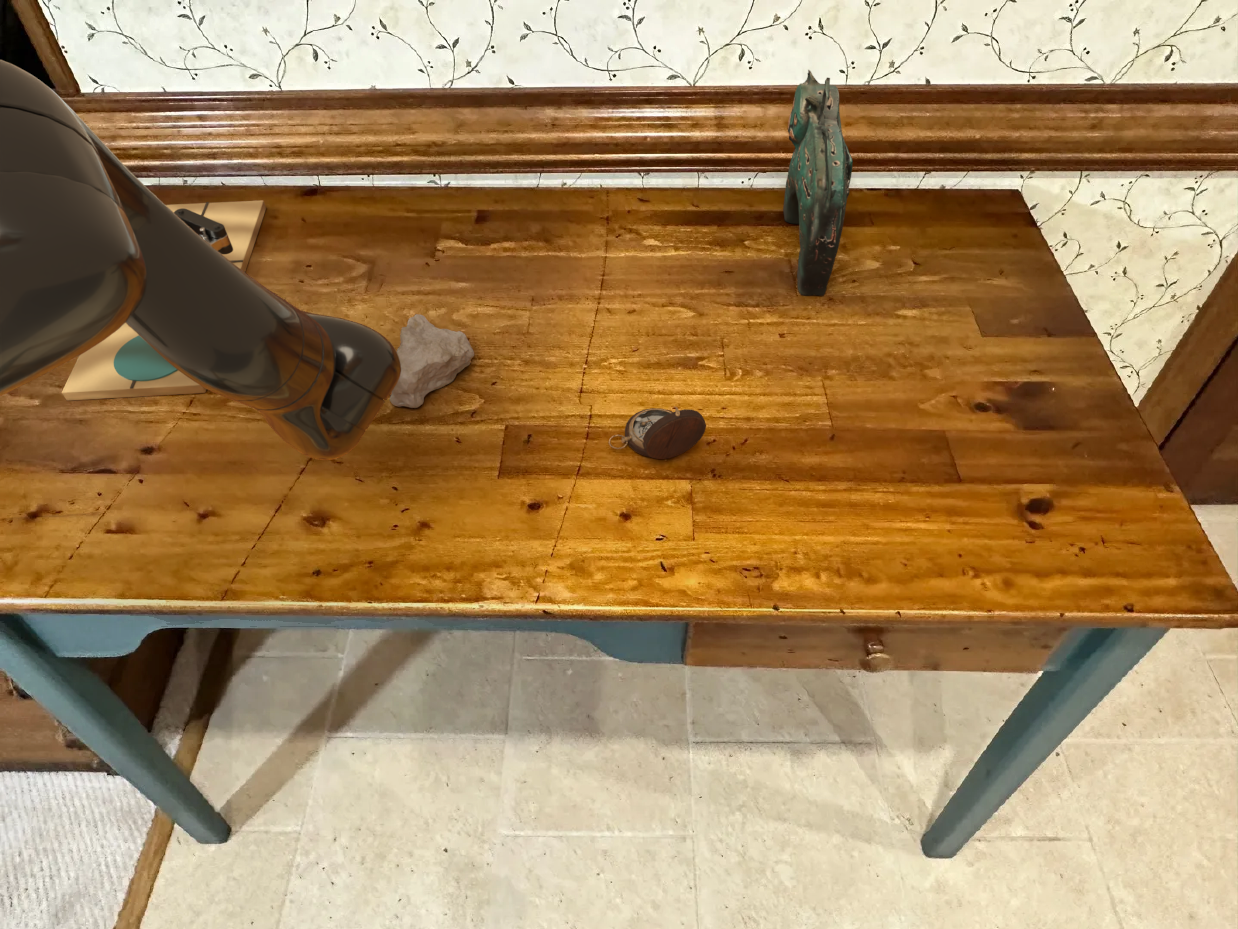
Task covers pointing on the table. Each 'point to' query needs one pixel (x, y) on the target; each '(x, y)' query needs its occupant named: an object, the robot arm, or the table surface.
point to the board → (129, 358)
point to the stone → (428, 360)
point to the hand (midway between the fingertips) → (99, 232)
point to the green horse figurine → (817, 181)
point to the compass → (663, 432)
